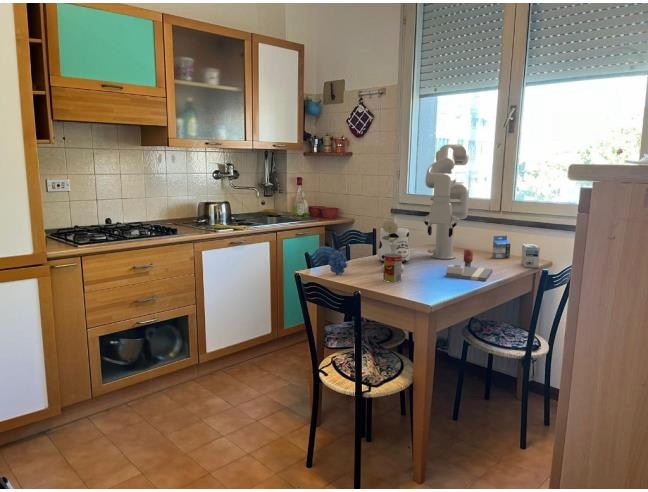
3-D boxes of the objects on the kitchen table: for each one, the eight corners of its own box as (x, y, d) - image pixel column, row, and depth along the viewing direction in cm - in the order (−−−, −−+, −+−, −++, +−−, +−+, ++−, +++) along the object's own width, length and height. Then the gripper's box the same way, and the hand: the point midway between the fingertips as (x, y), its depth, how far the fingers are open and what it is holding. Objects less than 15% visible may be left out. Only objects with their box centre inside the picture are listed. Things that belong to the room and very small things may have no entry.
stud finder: (446, 272, 224) (447, 266, 223) (449, 270, 228) (449, 264, 227) (461, 274, 220) (462, 267, 220) (464, 272, 225) (464, 265, 224)
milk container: (403, 266, 243) (404, 232, 240) (372, 263, 252) (373, 229, 249) (414, 260, 258) (415, 228, 255) (384, 257, 267) (385, 226, 263)
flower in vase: (409, 270, 234) (410, 220, 230) (396, 274, 226) (397, 223, 222) (387, 266, 243) (388, 218, 239) (374, 270, 235) (375, 220, 231)
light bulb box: (538, 268, 241) (540, 247, 239) (524, 267, 242) (526, 246, 240) (533, 263, 251) (535, 243, 249) (520, 263, 253) (522, 243, 251)
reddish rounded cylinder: (462, 267, 242) (463, 250, 240) (464, 265, 246) (465, 248, 244) (471, 268, 240) (472, 251, 238) (472, 266, 244) (473, 249, 242)
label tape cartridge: (495, 258, 263) (497, 237, 261) (491, 257, 267) (493, 236, 265) (509, 258, 265) (511, 236, 263) (505, 256, 269) (507, 235, 267)
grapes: (335, 278, 219) (335, 253, 217) (325, 275, 224) (325, 251, 222) (352, 274, 227) (353, 249, 224) (342, 271, 231) (343, 248, 229)
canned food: (389, 277, 220) (390, 252, 218) (404, 280, 216) (405, 254, 213) (380, 280, 214) (380, 255, 212) (395, 283, 210) (396, 257, 207)
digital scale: (445, 276, 222) (446, 273, 222) (455, 268, 240) (455, 265, 240) (485, 281, 214) (485, 277, 214) (492, 272, 232) (492, 269, 231)
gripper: (421, 199, 223) (420, 235, 225) (458, 201, 215) (456, 238, 218) (425, 198, 229) (424, 233, 232) (461, 200, 221) (459, 236, 224)
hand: (439, 235), depth 225 cm, fingers open, 9 cm apart
